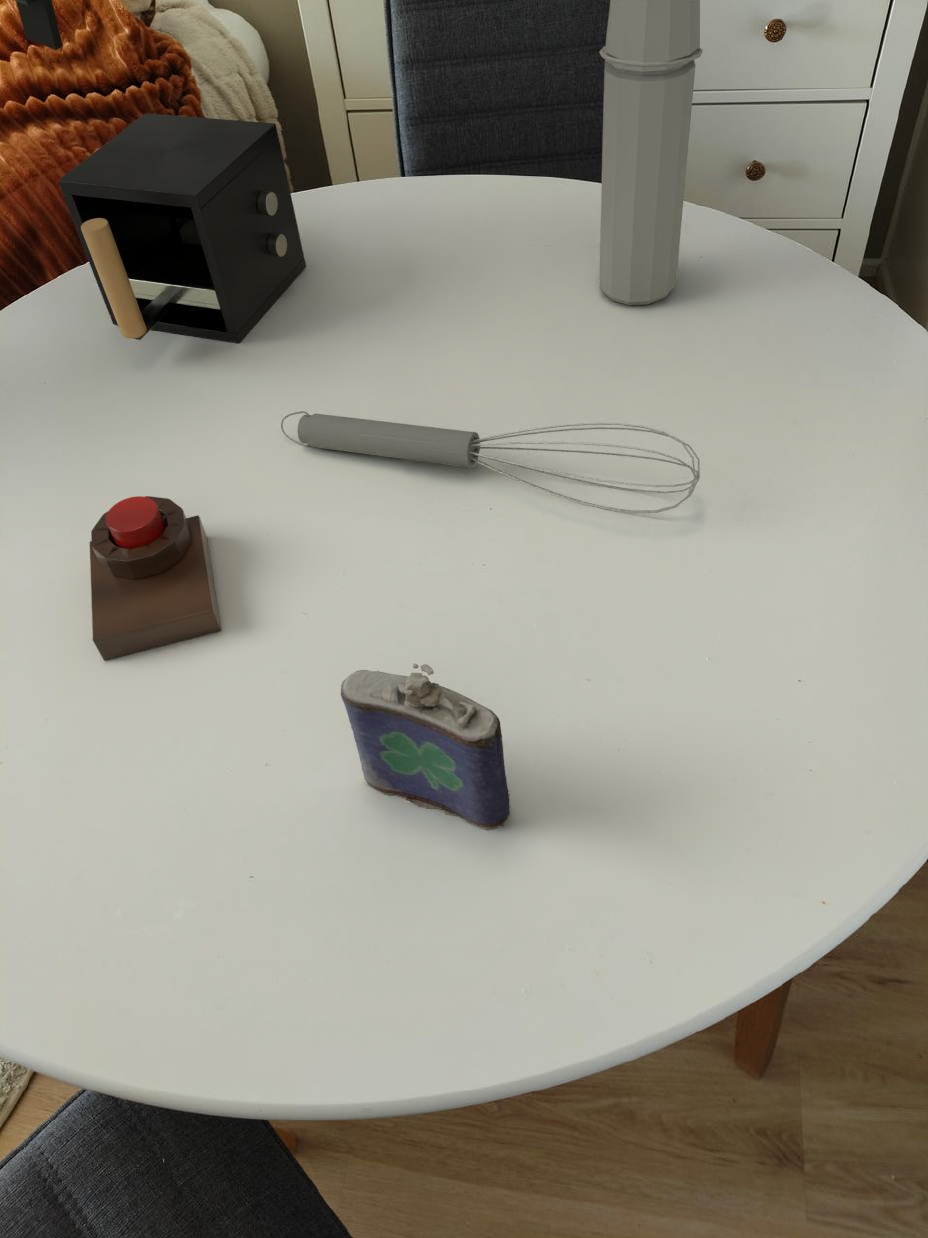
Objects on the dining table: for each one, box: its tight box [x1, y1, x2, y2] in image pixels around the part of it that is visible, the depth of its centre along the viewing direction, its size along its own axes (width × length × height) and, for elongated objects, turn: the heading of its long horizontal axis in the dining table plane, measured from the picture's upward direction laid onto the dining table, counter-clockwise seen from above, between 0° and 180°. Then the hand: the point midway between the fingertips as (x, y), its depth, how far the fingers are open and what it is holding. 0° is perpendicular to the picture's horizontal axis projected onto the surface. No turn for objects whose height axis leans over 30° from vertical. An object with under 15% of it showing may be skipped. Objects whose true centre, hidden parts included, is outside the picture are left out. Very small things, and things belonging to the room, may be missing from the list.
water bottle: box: [598, 0, 704, 306], centre depth 84 cm, size 9×8×25 cm
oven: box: [57, 112, 307, 344], centre depth 92 cm, size 15×14×14 cm
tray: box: [81, 215, 221, 341], centre depth 89 cm, size 11×19×10 cm, turn 160°
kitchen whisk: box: [280, 410, 701, 514], centre depth 74 cm, size 6×34×6 cm, turn 69°
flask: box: [340, 663, 511, 830], centre depth 54 cm, size 9×3×11 cm, turn 65°
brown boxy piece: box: [89, 495, 222, 662], centre depth 70 cm, size 11×8×4 cm
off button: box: [106, 495, 165, 549], centre depth 69 cm, size 4×4×2 cm
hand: (100, 4), depth 78 cm, fingers open, 13 cm apart
